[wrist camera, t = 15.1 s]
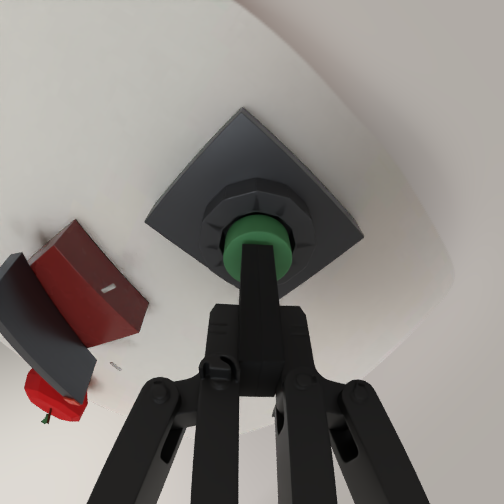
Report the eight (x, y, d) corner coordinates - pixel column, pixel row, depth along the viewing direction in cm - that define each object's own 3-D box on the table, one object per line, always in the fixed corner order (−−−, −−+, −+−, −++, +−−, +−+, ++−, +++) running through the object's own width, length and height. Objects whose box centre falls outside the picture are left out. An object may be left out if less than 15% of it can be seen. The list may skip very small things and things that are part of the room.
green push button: (301, 241, 16) (306, 259, 15) (257, 275, 18) (258, 295, 17) (257, 201, 15) (257, 217, 14) (212, 242, 17) (208, 261, 15)
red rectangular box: (60, 164, 17) (32, 186, 14) (193, 323, 26) (187, 355, 23) (-14, 255, 22) (-31, 276, 19) (85, 355, 31) (76, 377, 28)
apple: (47, 342, 30) (22, 402, 22) (105, 382, 36) (90, 440, 27) (29, 357, 34) (9, 406, 26) (78, 390, 39) (64, 438, 31)
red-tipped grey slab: (10, 254, 17) (-26, 302, 12) (22, 251, 17) (-16, 303, 12) (84, 358, 25) (68, 404, 21) (97, 360, 25) (81, 407, 21)
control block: (355, 220, 20) (373, 253, 17) (265, 288, 24) (267, 326, 20) (242, 106, 15) (239, 117, 12) (153, 206, 19) (134, 238, 16)
